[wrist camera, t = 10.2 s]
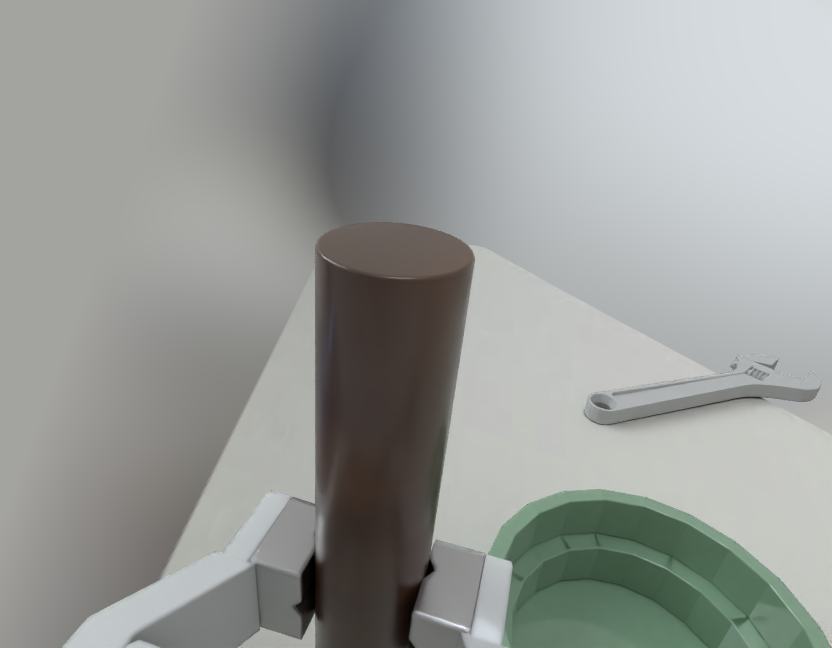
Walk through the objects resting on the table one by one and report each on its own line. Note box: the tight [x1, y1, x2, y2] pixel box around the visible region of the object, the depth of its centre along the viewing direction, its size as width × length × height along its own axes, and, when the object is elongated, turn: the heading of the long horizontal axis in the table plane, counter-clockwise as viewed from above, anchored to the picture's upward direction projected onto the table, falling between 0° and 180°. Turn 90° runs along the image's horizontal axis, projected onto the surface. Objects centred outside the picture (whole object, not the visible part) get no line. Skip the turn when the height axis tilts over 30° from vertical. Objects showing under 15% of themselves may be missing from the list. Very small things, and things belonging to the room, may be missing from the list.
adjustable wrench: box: [584, 354, 822, 424], centre depth 49 cm, size 25×6×2 cm, turn 104°
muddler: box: [315, 222, 475, 648], centre depth 11 cm, size 4×4×17 cm
